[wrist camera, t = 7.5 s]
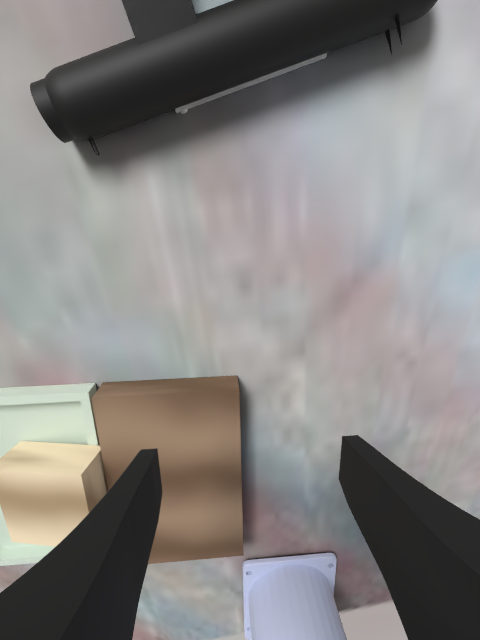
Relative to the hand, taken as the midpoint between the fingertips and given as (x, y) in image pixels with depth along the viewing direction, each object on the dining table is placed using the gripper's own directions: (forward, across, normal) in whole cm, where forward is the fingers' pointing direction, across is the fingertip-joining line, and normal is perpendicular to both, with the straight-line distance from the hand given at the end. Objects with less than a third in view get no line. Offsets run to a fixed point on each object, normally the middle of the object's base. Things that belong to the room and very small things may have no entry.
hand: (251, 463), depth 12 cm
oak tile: (+8, +12, +8) cm, 17 cm away
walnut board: (+9, +4, +8) cm, 13 cm away
